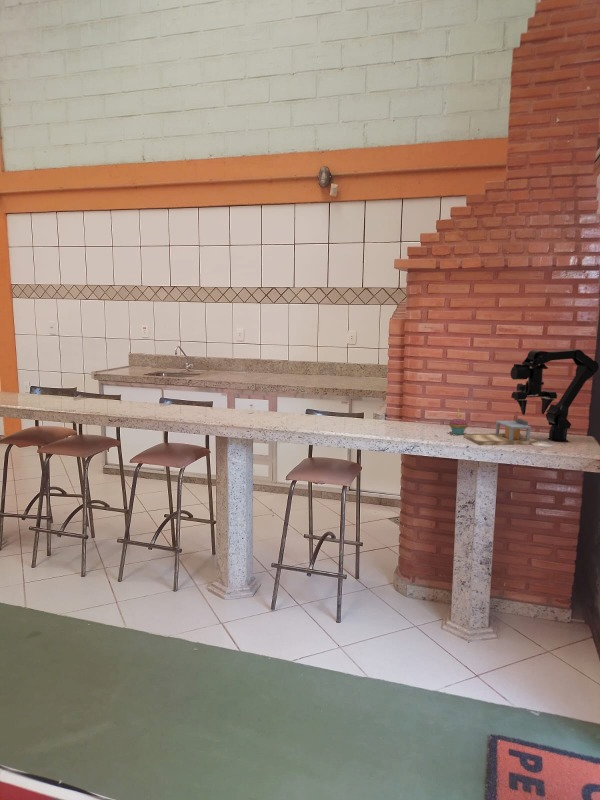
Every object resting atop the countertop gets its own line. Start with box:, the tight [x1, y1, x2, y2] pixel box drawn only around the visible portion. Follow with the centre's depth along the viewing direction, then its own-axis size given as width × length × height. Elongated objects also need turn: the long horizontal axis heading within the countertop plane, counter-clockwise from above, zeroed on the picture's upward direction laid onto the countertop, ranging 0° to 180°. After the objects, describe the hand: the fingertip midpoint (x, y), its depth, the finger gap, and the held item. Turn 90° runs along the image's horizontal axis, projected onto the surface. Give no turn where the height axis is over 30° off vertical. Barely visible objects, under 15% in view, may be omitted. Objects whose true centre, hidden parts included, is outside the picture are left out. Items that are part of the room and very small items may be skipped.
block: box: [504, 426, 521, 439], centre depth 252 cm, size 4×4×6 cm
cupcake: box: [448, 408, 469, 436], centre depth 265 cm, size 9×8×12 cm
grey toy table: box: [495, 417, 532, 440], centre depth 252 cm, size 9×14×8 cm, turn 8°
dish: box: [530, 440, 555, 448], centre depth 245 cm, size 9×9×1 cm
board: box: [462, 432, 539, 446], centre depth 252 cm, size 27×16×2 cm, turn 98°
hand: (533, 414), depth 252 cm, fingers open, 9 cm apart
